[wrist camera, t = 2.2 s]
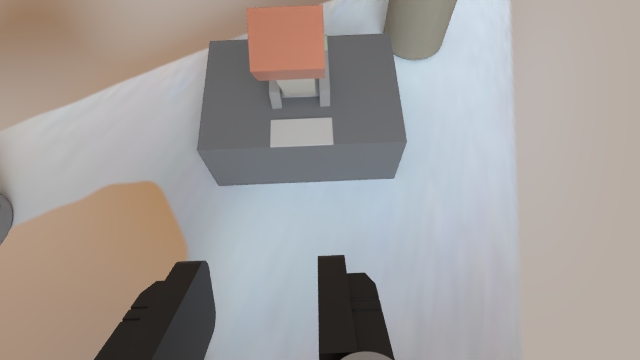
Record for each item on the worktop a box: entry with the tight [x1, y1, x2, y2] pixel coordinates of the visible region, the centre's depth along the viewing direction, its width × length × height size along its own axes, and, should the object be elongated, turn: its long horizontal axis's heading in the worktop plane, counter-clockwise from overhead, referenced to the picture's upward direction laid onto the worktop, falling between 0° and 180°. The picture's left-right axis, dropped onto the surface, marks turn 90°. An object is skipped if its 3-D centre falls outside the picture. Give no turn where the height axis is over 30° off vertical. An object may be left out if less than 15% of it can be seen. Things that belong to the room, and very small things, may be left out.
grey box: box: [197, 34, 407, 186], centre depth 42 cm, size 20×14×10 cm
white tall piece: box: [247, 5, 325, 96], centre depth 30 cm, size 4×4×16 cm
